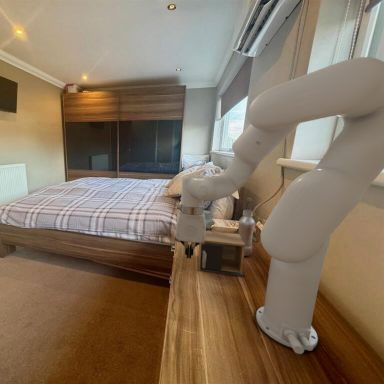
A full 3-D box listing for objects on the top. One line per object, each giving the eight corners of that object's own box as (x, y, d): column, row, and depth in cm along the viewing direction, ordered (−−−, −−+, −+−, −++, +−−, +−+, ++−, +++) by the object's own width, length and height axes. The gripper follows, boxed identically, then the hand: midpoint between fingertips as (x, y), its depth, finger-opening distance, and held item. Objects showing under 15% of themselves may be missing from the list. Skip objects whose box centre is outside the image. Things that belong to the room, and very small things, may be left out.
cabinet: (243, 276, 74) (246, 246, 72) (199, 270, 78) (201, 241, 76) (235, 260, 85) (238, 233, 82) (198, 256, 89) (199, 230, 87)
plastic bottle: (247, 250, 93) (252, 208, 89) (254, 258, 87) (260, 213, 83) (232, 250, 94) (236, 208, 90) (239, 257, 87) (243, 213, 83)
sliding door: (222, 276, 73) (224, 250, 71) (200, 273, 75) (202, 248, 73) (220, 269, 77) (222, 245, 75) (200, 266, 79) (201, 242, 77)
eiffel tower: (256, 234, 111) (262, 190, 106) (256, 241, 102) (261, 193, 97) (235, 230, 116) (239, 188, 112) (232, 237, 108) (237, 191, 103)
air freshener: (205, 223, 128) (206, 208, 127) (216, 227, 121) (217, 211, 119) (192, 227, 123) (193, 211, 121) (203, 231, 116) (205, 214, 114)
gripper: (169, 211, 70) (167, 259, 74) (215, 214, 66) (211, 265, 70) (170, 205, 77) (169, 249, 81) (212, 208, 73) (209, 254, 77)
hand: (188, 256), depth 75 cm, fingers closed
